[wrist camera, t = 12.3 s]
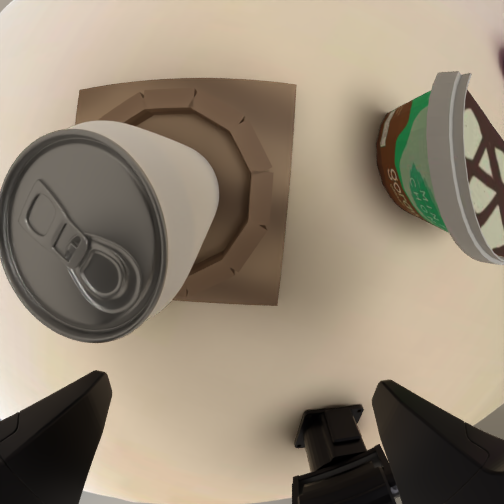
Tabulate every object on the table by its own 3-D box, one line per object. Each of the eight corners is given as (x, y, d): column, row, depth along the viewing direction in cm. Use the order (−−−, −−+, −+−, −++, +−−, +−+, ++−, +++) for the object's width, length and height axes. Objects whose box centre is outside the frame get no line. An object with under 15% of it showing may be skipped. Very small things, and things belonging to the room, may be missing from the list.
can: (176, 262, 19) (107, 389, 7) (106, 201, 17) (-29, 254, 6) (241, 189, 17) (250, 233, 6) (166, 123, 16) (56, 66, 4)
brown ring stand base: (275, 299, 21) (281, 319, 18) (86, 285, 20) (68, 301, 17) (293, 88, 17) (303, 75, 14) (86, 92, 16) (65, 84, 13)
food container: (326, 161, 18) (408, 159, 9) (372, 99, 17) (463, 63, 7) (430, 260, 21) (511, 310, 11) (464, 204, 19) (551, 231, 10)
